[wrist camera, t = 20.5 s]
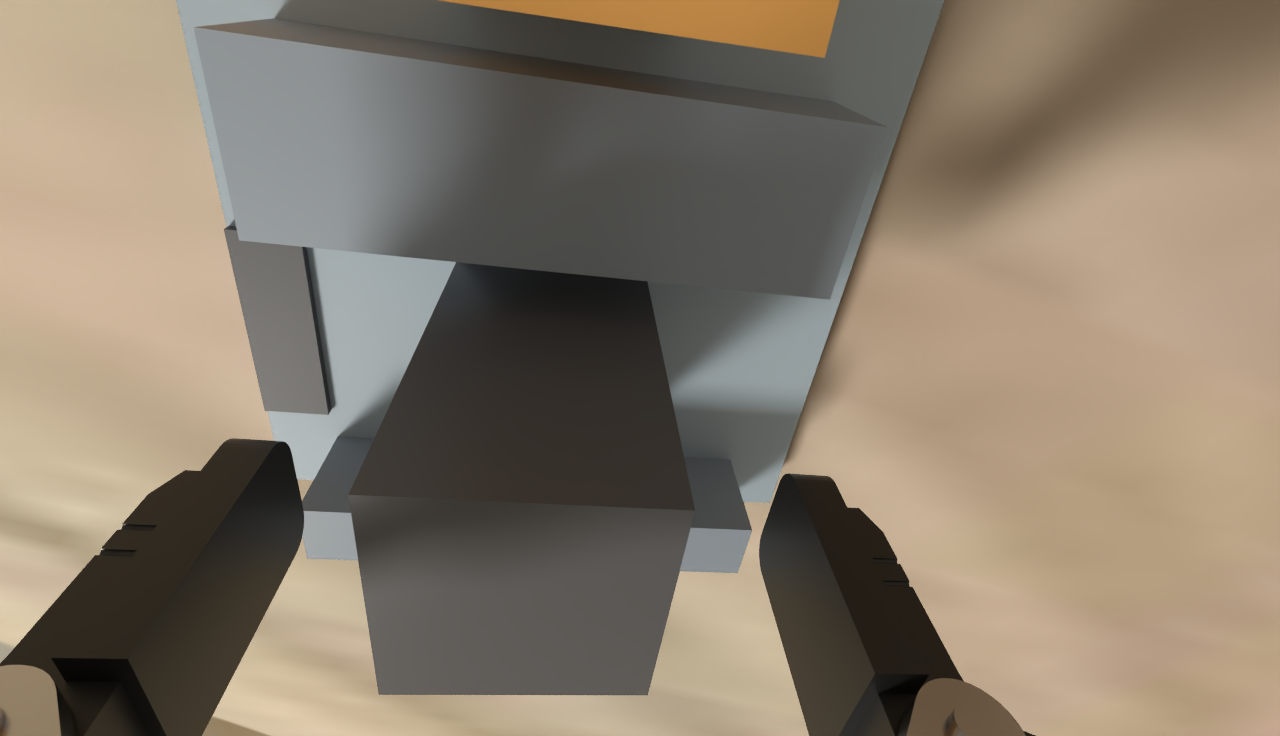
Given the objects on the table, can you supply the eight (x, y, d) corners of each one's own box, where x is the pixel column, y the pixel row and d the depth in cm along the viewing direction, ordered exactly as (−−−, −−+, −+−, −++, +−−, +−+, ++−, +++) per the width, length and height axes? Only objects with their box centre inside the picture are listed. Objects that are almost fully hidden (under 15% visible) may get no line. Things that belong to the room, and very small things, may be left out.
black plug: (646, 276, 13) (695, 510, 7) (623, 422, 15) (647, 695, 9) (458, 257, 13) (348, 495, 7) (461, 411, 15) (379, 694, 9)
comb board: (1066, -451, 9) (1310, -672, 6) (761, 478, 18) (795, 575, 15) (58, -755, 7) (-332, -1303, 4) (298, 453, 16) (234, 556, 13)
